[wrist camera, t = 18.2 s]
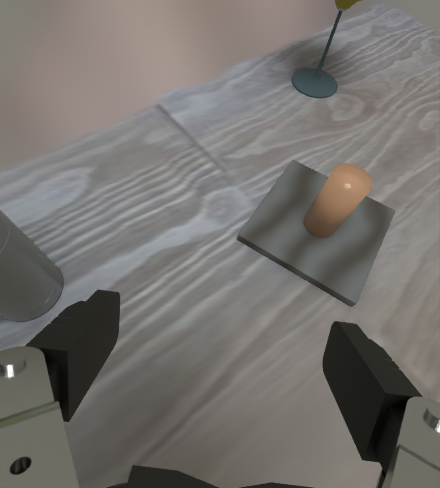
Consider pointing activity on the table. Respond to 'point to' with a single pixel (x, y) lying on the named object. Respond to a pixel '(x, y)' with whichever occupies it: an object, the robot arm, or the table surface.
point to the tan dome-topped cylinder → (337, 199)
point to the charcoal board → (312, 247)
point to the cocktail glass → (320, 67)
